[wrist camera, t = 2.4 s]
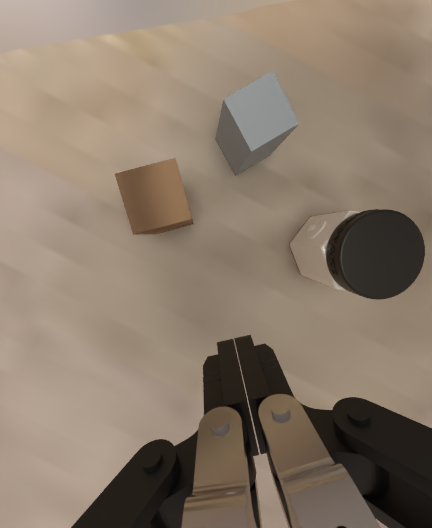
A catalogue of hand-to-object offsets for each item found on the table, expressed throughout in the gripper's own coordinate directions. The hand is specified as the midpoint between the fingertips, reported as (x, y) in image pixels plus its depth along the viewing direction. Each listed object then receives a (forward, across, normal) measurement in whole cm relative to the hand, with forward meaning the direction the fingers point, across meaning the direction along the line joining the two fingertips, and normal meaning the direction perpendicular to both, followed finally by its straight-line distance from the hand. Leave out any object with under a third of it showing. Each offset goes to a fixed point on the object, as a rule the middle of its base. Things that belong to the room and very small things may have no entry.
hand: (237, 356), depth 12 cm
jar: (+24, -14, +4) cm, 28 cm away
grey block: (+26, -6, -10) cm, 29 cm away
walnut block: (+25, +4, -5) cm, 26 cm away
